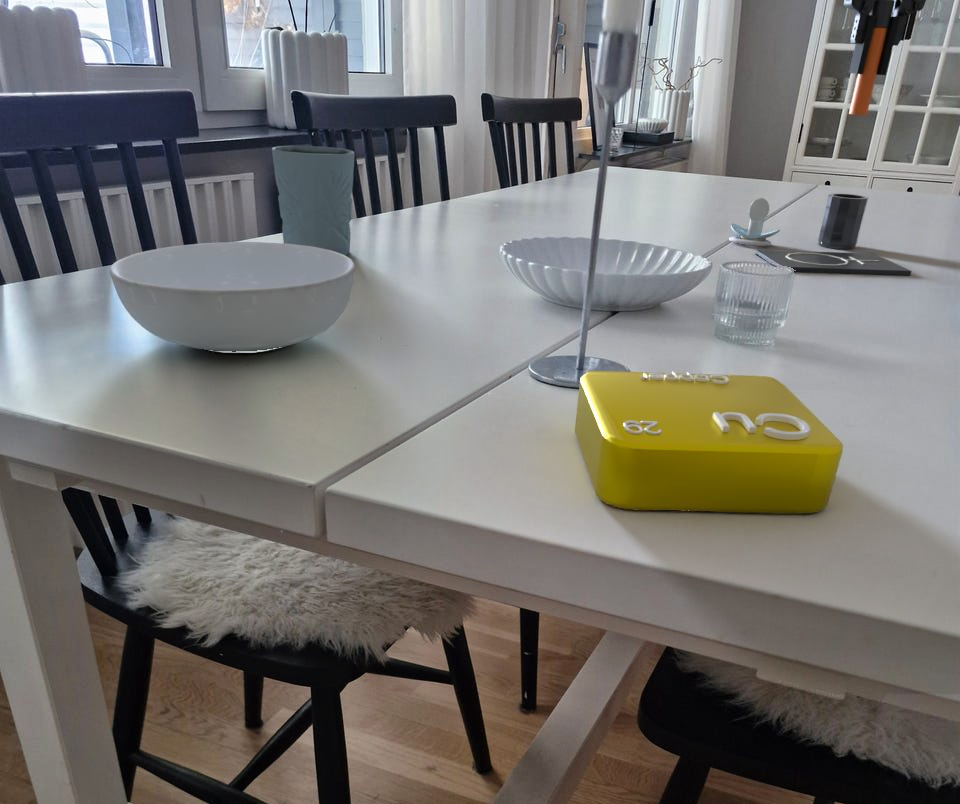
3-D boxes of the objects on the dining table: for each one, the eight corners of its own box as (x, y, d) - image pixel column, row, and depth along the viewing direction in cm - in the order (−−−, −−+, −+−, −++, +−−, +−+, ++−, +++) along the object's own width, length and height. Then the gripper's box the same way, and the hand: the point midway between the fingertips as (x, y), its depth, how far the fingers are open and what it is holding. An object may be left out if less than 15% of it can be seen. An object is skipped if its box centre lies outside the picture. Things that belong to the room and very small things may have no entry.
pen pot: (846, 243, 141) (858, 194, 138) (861, 249, 137) (874, 199, 133) (812, 241, 141) (823, 192, 137) (825, 248, 136) (837, 198, 132)
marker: (862, 114, 126) (889, 1, 119) (870, 115, 124) (898, 0, 117) (844, 113, 126) (870, 0, 119) (852, 114, 123) (879, -1, 116)
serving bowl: (249, 302, 95) (242, 231, 91) (402, 340, 85) (402, 263, 81) (74, 342, 80) (57, 260, 76) (234, 393, 71) (224, 302, 67)
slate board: (873, 257, 132) (874, 252, 131) (910, 275, 122) (912, 270, 121) (754, 253, 130) (755, 248, 130) (781, 271, 120) (782, 265, 120)
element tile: (765, 430, 68) (779, 368, 66) (836, 517, 56) (858, 444, 53) (570, 425, 68) (577, 361, 65) (599, 511, 55) (608, 437, 53)
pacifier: (769, 251, 134) (779, 244, 138) (778, 205, 130) (788, 199, 134) (721, 244, 136) (732, 238, 141) (729, 199, 133) (740, 194, 137)
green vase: (263, 251, 117) (254, 147, 111) (317, 241, 124) (311, 143, 118) (320, 263, 113) (315, 155, 106) (373, 252, 120) (370, 150, 113)
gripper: (966, -144, 113) (908, 75, 126) (847, -153, 111) (801, 70, 125) (999, -155, 107) (935, 77, 120) (873, -164, 105) (822, 72, 118)
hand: (867, 73), depth 122 cm, fingers closed on marker, 3 cm apart
